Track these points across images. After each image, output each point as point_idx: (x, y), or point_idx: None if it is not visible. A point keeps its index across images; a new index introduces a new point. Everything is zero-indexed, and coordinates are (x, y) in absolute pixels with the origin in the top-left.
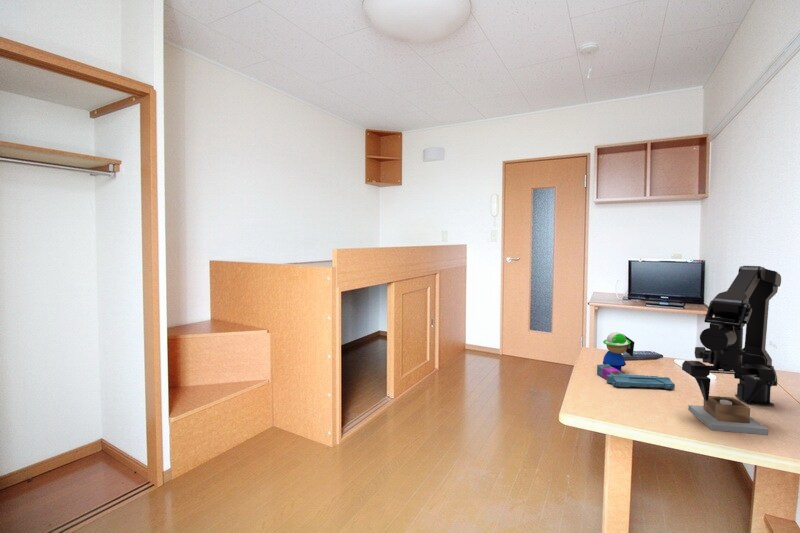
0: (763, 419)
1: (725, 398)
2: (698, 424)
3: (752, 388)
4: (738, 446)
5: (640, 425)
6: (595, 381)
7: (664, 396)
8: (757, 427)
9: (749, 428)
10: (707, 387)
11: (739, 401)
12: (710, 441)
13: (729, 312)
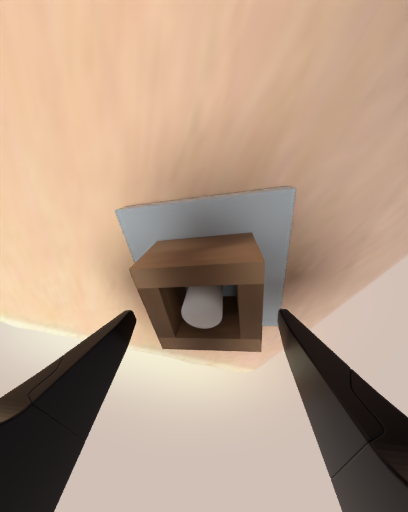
0: (355, 213)
1: (214, 284)
2: None
3: (327, 459)
4: (190, 353)
5: (50, 319)
6: None
7: (26, 35)
8: None
9: None
10: (87, 415)
11: (262, 304)
12: (152, 347)
13: None
